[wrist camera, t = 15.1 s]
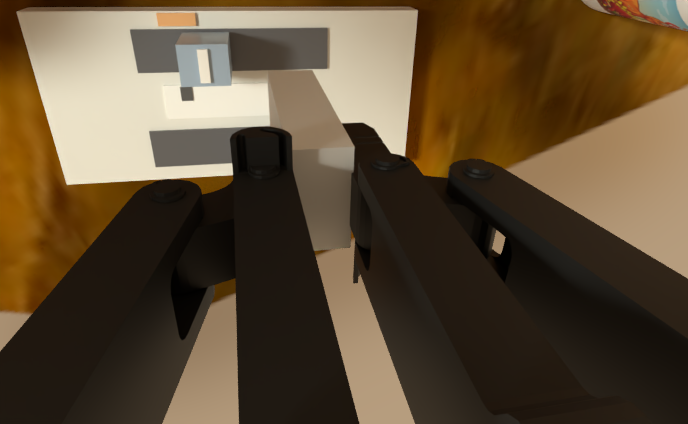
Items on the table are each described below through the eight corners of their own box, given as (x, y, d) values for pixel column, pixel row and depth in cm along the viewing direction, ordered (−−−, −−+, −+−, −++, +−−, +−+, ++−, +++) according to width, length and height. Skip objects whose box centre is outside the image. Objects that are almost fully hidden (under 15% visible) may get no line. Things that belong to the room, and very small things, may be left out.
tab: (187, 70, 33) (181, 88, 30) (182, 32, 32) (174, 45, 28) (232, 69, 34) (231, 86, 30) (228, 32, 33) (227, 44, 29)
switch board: (74, 173, 38) (65, 186, 36) (28, 7, 32) (14, 12, 30) (397, 155, 42) (404, 166, 40) (409, 6, 36) (419, 10, 34)
